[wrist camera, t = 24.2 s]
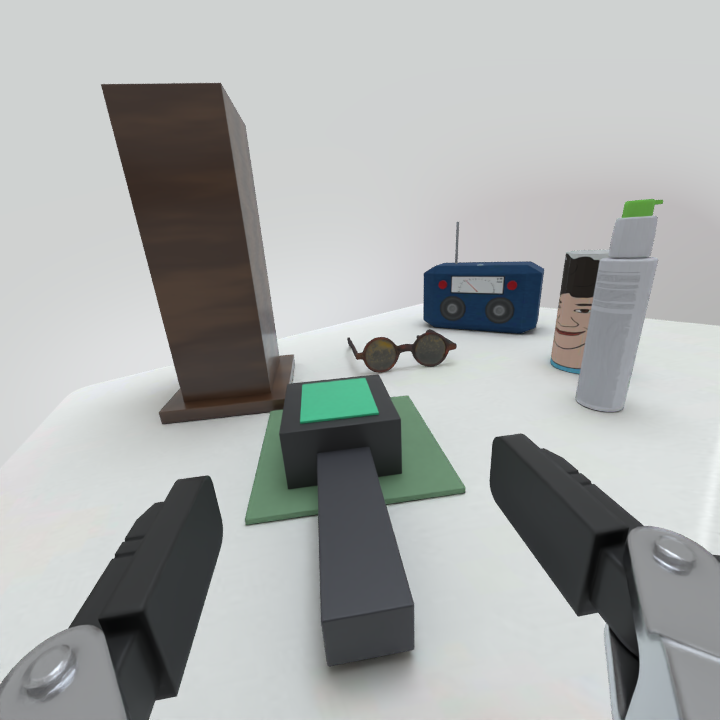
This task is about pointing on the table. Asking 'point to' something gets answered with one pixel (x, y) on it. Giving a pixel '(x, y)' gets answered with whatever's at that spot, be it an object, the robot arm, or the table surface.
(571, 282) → the printed can
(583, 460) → the table surface
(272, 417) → the mat
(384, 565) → the green-topped block with handle
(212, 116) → the stand
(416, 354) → the eyeglasses
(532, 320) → the radio
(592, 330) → the bottle
